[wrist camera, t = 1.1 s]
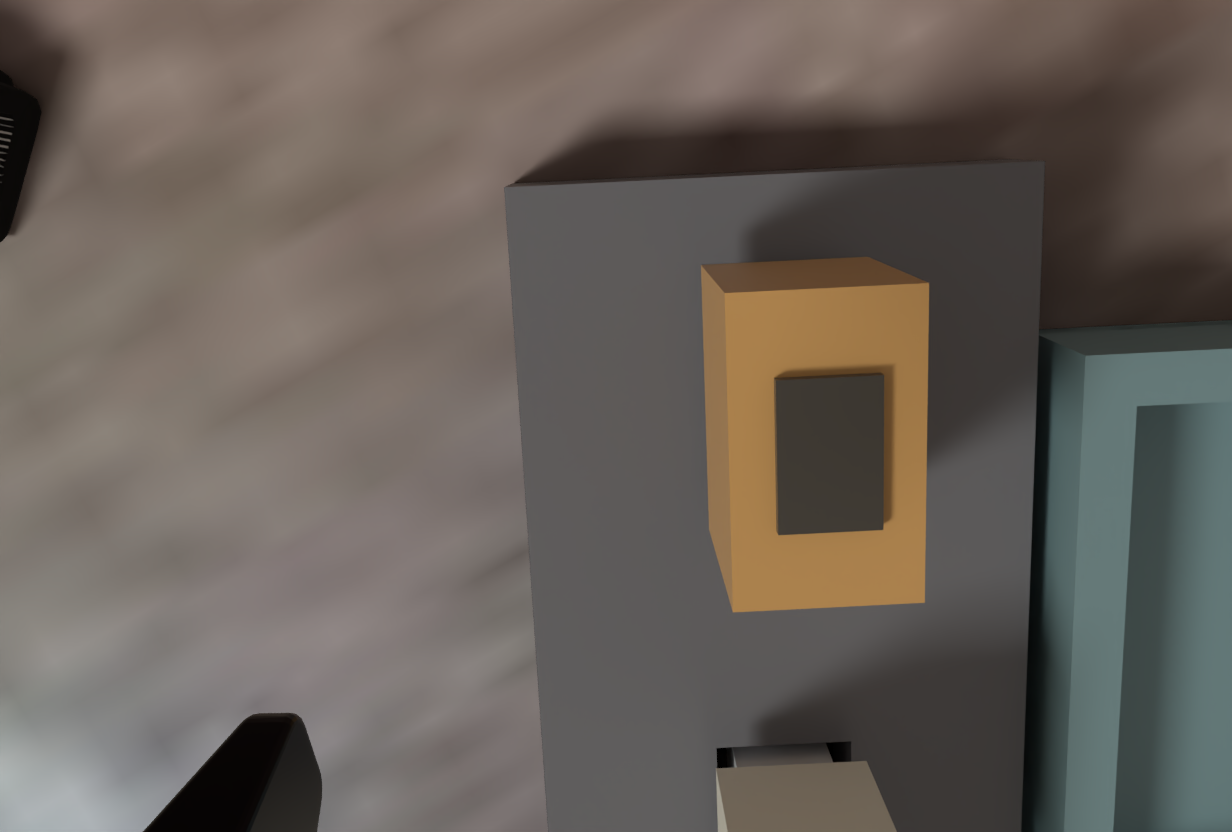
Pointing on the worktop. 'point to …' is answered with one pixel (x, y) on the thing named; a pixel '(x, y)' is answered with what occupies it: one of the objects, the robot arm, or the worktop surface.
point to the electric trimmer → (14, 145)
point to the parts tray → (1131, 582)
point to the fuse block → (678, 496)
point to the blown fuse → (816, 431)
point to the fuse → (797, 792)
